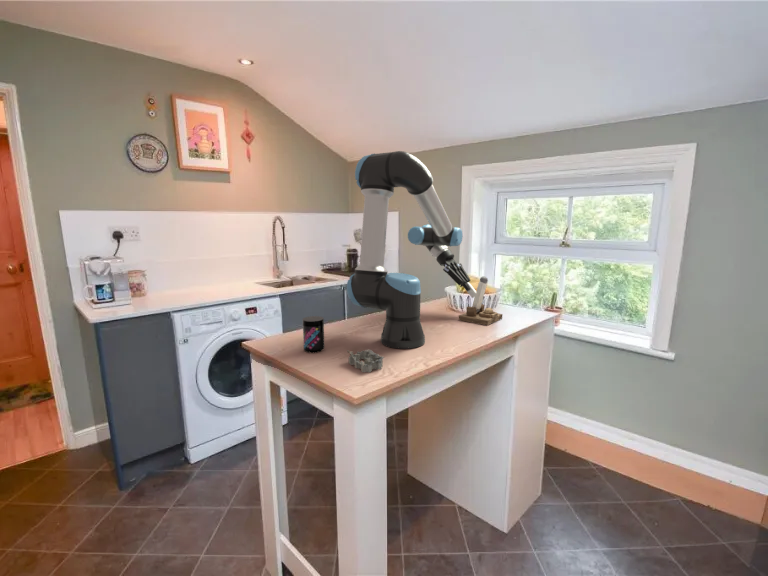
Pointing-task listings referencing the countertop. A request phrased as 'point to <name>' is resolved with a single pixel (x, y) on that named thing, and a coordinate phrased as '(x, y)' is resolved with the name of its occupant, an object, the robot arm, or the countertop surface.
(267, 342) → the countertop surface
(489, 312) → the walnut
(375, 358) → the egg carton
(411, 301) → the robot arm
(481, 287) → the lever
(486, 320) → the base
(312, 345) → the supplement container
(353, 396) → the countertop surface
